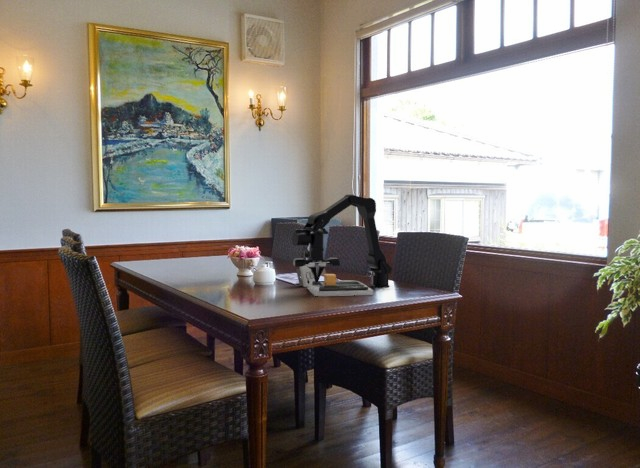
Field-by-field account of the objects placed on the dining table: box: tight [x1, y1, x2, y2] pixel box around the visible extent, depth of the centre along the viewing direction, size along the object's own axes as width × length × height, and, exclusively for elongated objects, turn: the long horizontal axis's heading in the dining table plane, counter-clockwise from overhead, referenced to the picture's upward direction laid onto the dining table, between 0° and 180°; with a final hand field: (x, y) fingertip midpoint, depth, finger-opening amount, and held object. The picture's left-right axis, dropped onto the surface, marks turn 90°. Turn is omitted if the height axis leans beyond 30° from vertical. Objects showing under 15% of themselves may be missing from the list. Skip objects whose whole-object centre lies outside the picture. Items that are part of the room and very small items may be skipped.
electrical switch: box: [295, 264, 315, 288], centre depth 249 cm, size 9×5×9 cm, turn 141°
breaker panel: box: [307, 279, 374, 297], centre depth 234 cm, size 24×18×4 cm
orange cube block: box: [323, 273, 337, 285], centre depth 233 cm, size 4×5×5 cm
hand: (316, 282), depth 232 cm, fingers closed
